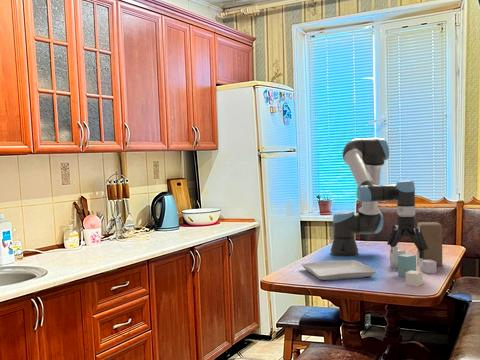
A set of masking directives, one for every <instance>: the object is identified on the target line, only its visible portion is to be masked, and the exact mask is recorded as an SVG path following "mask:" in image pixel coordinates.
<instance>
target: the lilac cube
mask: <svg viewBox="0 0 480 360" xmlns="http://www.w3.org/2000/svg"><path fill="white" fill-rule="evenodd" d="M419 267H420V270H419V272H423V273H426V274H433V273H437V266H436V261H433V260H423V265H422V266H419Z"/></svg>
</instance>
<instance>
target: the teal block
mask: <svg viewBox="0 0 480 360" xmlns="http://www.w3.org/2000/svg"><path fill="white" fill-rule="evenodd" d="M411 270H412V271H417V254H410V253H405V254H402V255H398V269H397V275H398V276H400V277H404V278H406V272H408V271H411Z"/></svg>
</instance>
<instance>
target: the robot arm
mask: <svg viewBox="0 0 480 360" xmlns="http://www.w3.org/2000/svg"><path fill="white" fill-rule="evenodd" d="M389 158H390V149H389V144H388V141H387V140H386V139H385V138H383V137H382V138H381V137H366V138H364V137H363V138H360V137H359V138H354V139H352V140H349V141H348V142H347V143H346V144H345V146H344V148H343V150H342V159H343V161H344V164H346V165H347V166H348V167H349V170H350V171H351V174H352V176H353V178H354V180H355V183H356V185H357V188H356V197H357V201H359V202H361V206H360V207H359V208H358V211H357V212H355V211H354V210H342V211H338V212H336V213H334V214H333V217H332V224H333V225H332V227H333V230H332V231H333V233H332V234H333V240H332V245H331V248H330V254H331V255H334V256H339V257H340V256H342V257H345V256H348V257H350V256H357V255H359V248H358V244H357V242H356V235H370V234H371V235H373V234H379V233H380V232H381V231H382V229H383V227H384V215H383V214H382V212H381V210H380V209H379V202H396V205H397V206H396V207H397V210H396V211H397V215H398V216H396V217H397V218H396V219H397V224H394V225H392V230H391V232H390V235H389V238H388V240H387V242H386V243H387V245H388V246H390V250H391V253H392V259H393V261H398V249H399V247H398V244H399V242H400V241H401V240H402V238H403V237H406V238H409V239H410V240H411V241H412V242H413V244H414V246H415V247H416V248H417V251H416V267H420V266H422V265H423V258H424V250H427V249H428V247H427V244H426V242H425V240H424V237H423V235H422V232H421V228H420V227H419V228H417V227H416V226H415V225H416V216H415V215H416V199H415V198H416V194H415V193H416V192H415V191H416V187H415V182H414V181H413V180H398V181H397V182H396V184H395V183H394V184H393V183H392V184H380V182H381V169H382V166H384V165H385V161H387V160H389Z"/></svg>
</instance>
